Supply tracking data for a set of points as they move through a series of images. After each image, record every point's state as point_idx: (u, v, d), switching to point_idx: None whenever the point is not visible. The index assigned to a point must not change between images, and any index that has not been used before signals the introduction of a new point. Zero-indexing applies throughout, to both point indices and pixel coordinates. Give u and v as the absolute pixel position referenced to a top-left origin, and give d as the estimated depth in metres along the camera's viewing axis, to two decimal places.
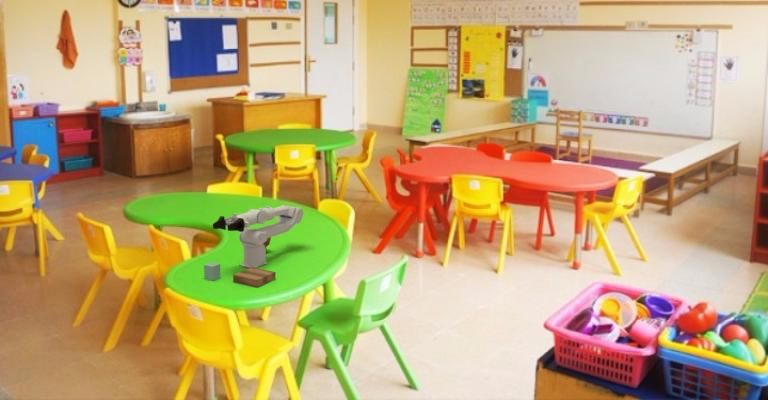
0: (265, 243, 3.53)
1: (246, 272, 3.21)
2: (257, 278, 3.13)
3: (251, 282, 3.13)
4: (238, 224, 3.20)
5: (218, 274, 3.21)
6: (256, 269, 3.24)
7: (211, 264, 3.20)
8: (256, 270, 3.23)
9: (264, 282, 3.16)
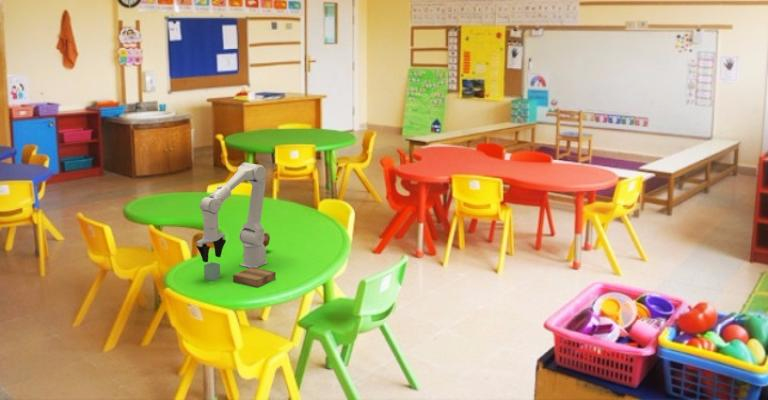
0: (264, 243, 3.53)
1: (246, 272, 3.21)
2: (257, 278, 3.13)
3: (251, 282, 3.13)
4: (203, 248, 3.15)
5: (218, 274, 3.21)
6: (256, 269, 3.24)
7: (211, 264, 3.20)
8: (256, 270, 3.23)
9: (264, 282, 3.16)
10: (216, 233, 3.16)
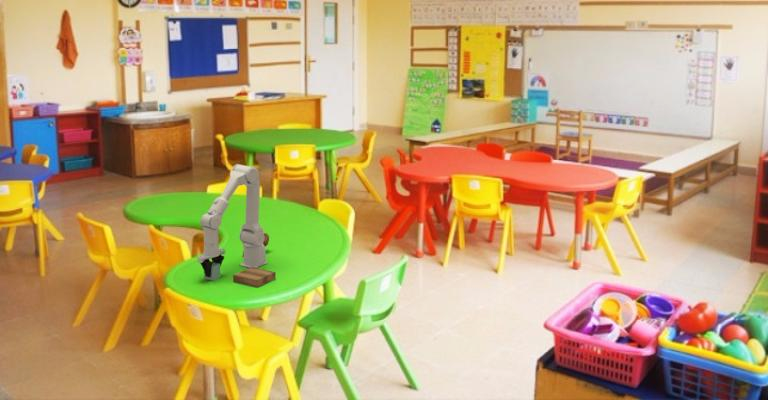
0: (263, 243, 3.53)
1: (246, 272, 3.21)
2: (257, 278, 3.13)
3: (251, 282, 3.13)
4: (206, 263, 3.18)
5: (218, 274, 3.21)
6: (256, 269, 3.24)
7: None
8: (256, 270, 3.23)
9: (264, 282, 3.16)
10: (216, 249, 3.17)
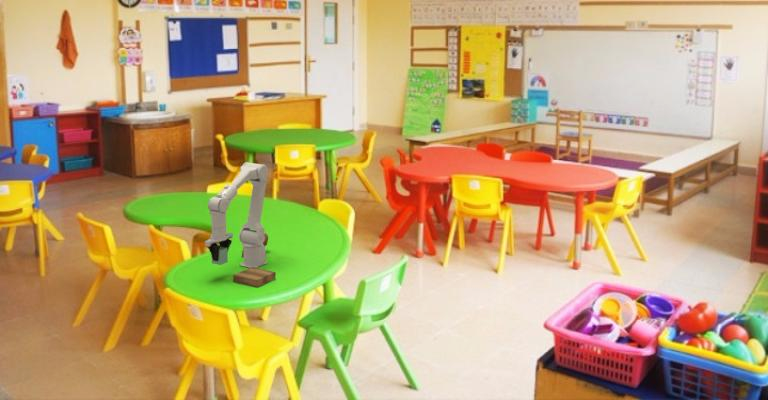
0: (263, 243, 3.52)
1: (246, 272, 3.21)
2: (257, 278, 3.13)
3: (251, 282, 3.13)
4: (213, 247, 3.16)
5: (225, 258, 3.19)
6: (256, 269, 3.24)
7: None
8: (256, 270, 3.23)
9: (264, 282, 3.16)
10: (224, 233, 3.15)
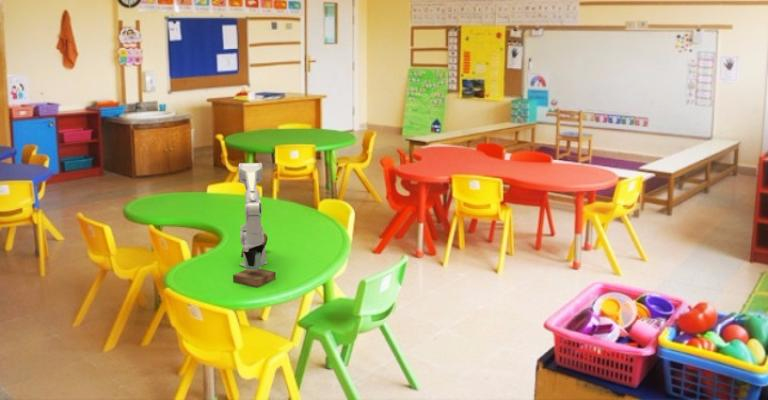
0: None
1: (246, 272, 3.21)
2: (257, 278, 3.13)
3: (251, 282, 3.13)
4: (249, 252, 3.14)
5: (259, 263, 3.19)
6: None
7: None
8: (256, 270, 3.23)
9: (264, 282, 3.16)
10: (260, 237, 3.15)
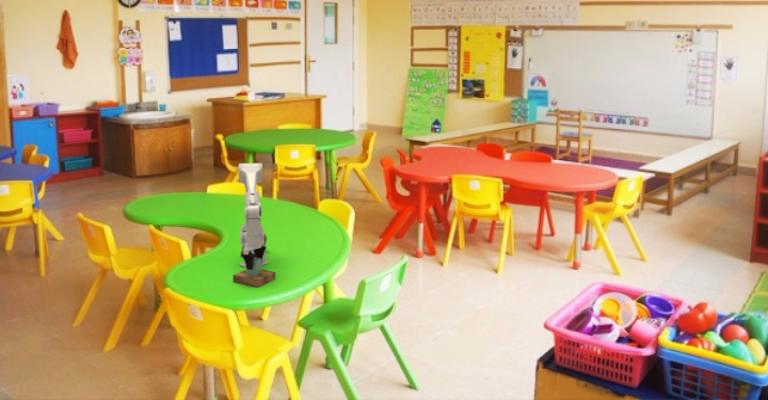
0: None
1: None
2: (257, 278, 3.13)
3: (251, 282, 3.13)
4: (247, 256, 3.13)
5: (260, 269, 3.19)
6: None
7: None
8: None
9: (264, 282, 3.16)
10: (260, 240, 3.15)
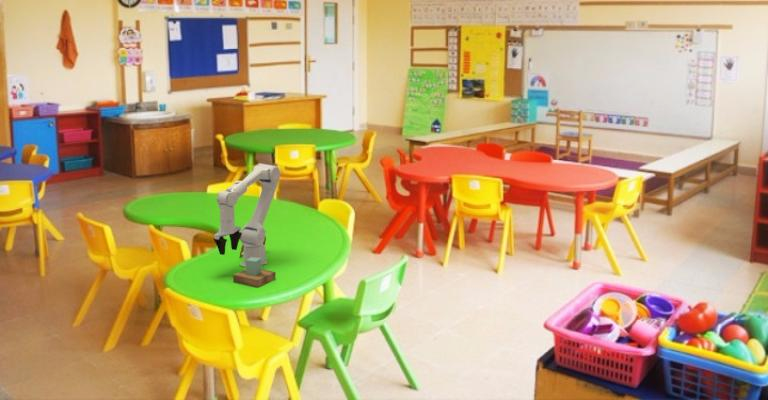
0: None
1: None
2: (257, 278, 3.13)
3: (251, 282, 3.13)
4: (220, 240, 3.20)
5: (260, 269, 3.19)
6: None
7: (253, 259, 3.17)
8: None
9: (264, 282, 3.16)
10: (233, 226, 3.21)
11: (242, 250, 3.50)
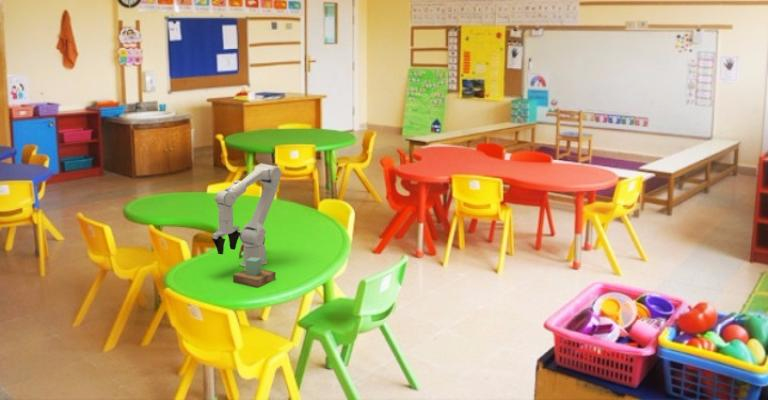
0: None
1: None
2: (257, 278, 3.13)
3: (251, 282, 3.13)
4: (218, 240, 3.21)
5: (260, 269, 3.19)
6: None
7: (253, 259, 3.17)
8: None
9: (264, 282, 3.16)
10: (231, 226, 3.22)
11: (241, 250, 3.49)
